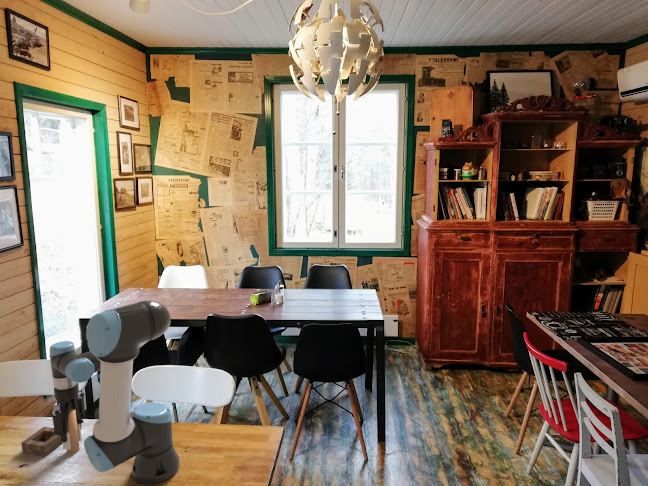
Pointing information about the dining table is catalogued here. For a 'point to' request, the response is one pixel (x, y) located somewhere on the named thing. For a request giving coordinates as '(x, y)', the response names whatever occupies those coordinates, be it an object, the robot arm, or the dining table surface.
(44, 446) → the socket block
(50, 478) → the dining table surface
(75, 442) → the peg
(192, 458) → the dining table surface
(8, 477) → the dining table surface
